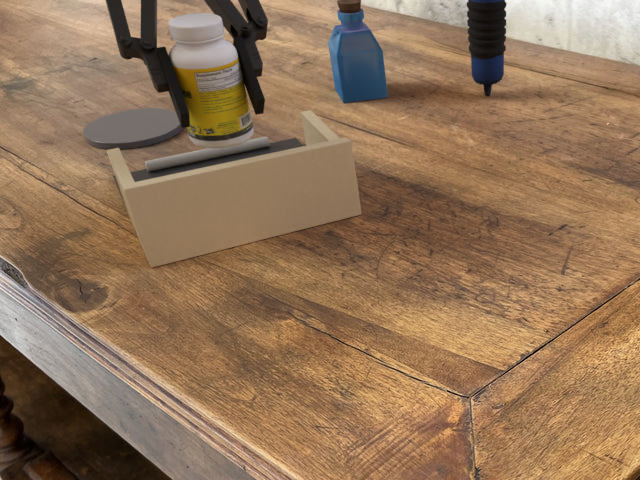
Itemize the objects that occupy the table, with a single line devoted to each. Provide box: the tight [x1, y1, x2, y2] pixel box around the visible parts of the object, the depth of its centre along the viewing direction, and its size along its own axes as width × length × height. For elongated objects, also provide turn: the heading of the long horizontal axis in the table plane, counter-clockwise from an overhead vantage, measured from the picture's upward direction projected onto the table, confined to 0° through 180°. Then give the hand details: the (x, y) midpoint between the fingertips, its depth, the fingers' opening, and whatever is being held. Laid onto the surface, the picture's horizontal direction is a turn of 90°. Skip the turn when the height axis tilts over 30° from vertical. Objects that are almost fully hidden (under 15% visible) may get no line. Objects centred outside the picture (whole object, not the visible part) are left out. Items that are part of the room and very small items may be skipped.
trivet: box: [82, 107, 184, 150], centre depth 102 cm, size 12×12×1 cm
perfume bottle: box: [327, 0, 389, 104], centre depth 108 cm, size 6×6×12 cm
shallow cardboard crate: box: [106, 109, 363, 269], centre depth 84 cm, size 21×22×8 cm
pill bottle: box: [167, 12, 255, 149], centre depth 75 cm, size 6×6×11 cm
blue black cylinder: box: [466, 0, 507, 97], centre depth 105 cm, size 8×8×20 cm
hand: (223, 113), depth 74 cm, fingers closed on pill bottle, 6 cm apart
